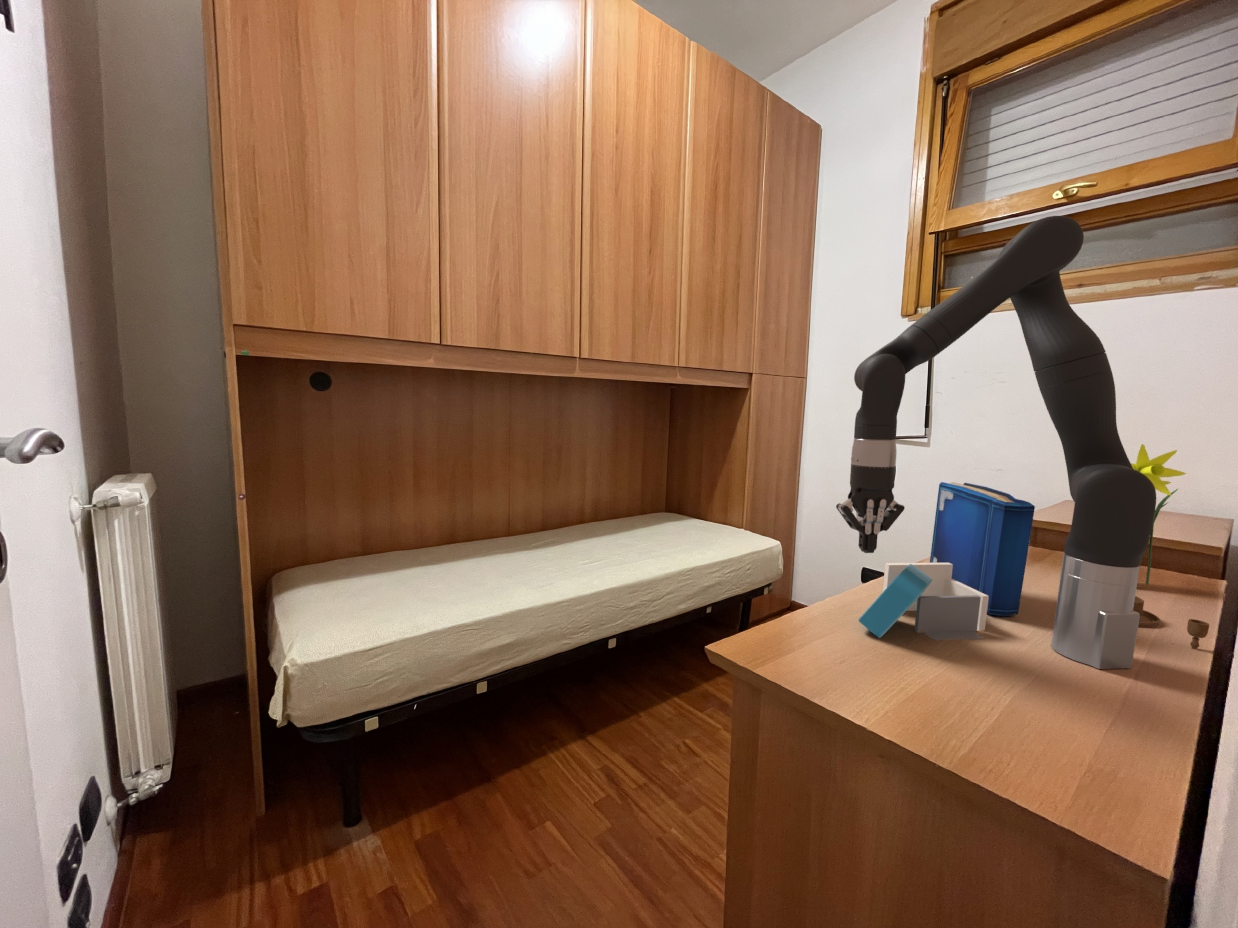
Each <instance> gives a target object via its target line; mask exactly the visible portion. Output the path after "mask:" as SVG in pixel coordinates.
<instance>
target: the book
mask: <svg viewBox="0 0 1238 928" xmlns="http://www.w3.org/2000/svg"><path fill="white" fill-rule="evenodd" d="M1035 509H1036V506H1035V505H1034V504H1033V503H1031V502H1030V501H1026V500H1023V499H1018V498H1015V497H1014V496H1013V495H1011V494H1010V493H1008V492H1004V491H1001V490H997V489H994V488H991V487H988V486H984V485H979V484H974V483H969V482H964V483H963V484H961V483H957V482H949V483H948V482H943V481H941V482H940V483H939V485H938V492H937V499H936V507H935V517H934V525H933V532H932V533H933V534H932V540H931V541H932V543H931V549H930V550H931V551H930V556H929V557H930V558H929V563H951V564H953V568H952V577H951V578H952V579H954V580H956V581H958V582H960V583H962V584H964V585H966V586H969V587H971V588H973V589H975V590H977V591H979V592H981V593H983V594H986V595H988V596H989V599H988V607H987V614H988V615H989V616H990V615H991V616H997V617H1010V616H1014V615H1018V614H1019V609H1020V604H1021V599H1022V592H1023V591H1022V590H1023V585H1024V578H1025V573H1026V566H1027V559H1028V554H1029V547H1030V540H1031V534H1032V528H1033V521H1034V515H1035Z"/></svg>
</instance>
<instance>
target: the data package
mask: <svg viewBox="0 0 1238 928" xmlns="http://www.w3.org/2000/svg"><path fill="white" fill-rule="evenodd" d="M931 582H932V579H931V578H930V577H929V576H927V575H926V574H924V573H923V572H922V571H920V570H919V569H918V568H916V567H915V566H913V565H912V564H909V565H908V566H907V567H906V568H905V569H904V570H903V571H902V572H901V573H900V574H899V575H898V576H897V577H896V578H895V579H894V580H893V582H892V583H891V584H890V585H889V586H888V587H887V588H886V589H885V590H884V592H883V591H882V593H880V594H879V596H878V597H877V598H876V599H875V601H874V602H873V603H872V604H870V606H869V607H868V608H867V609H866V610H865V611H864V613H863V614H862V615H860V617H859V618H858V622H859V623H860V624H861V625H863V627H865V628H866V629H867V630H869V632H871V633H872V634H873V635H874V636H875V637H877V638H878V639H881V638H882V637H883V636H884V635H885V634H886V633H887V632H888V631H889V630H890V628H892V626H894V624H895V623H896V622H897V621H899V619H900V618H901V617H902V616H903V615H904V614H905V613H906V612H907V610H908V608H909V607H910V606H911V605H912V604H913V603H914V602H915V601H916V600H917V599H918V598H919V597H920V596H921V594H922V593H923V592H924V591H925V589H926V588H927V587H928V585H929V584H930V583H931Z"/></svg>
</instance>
